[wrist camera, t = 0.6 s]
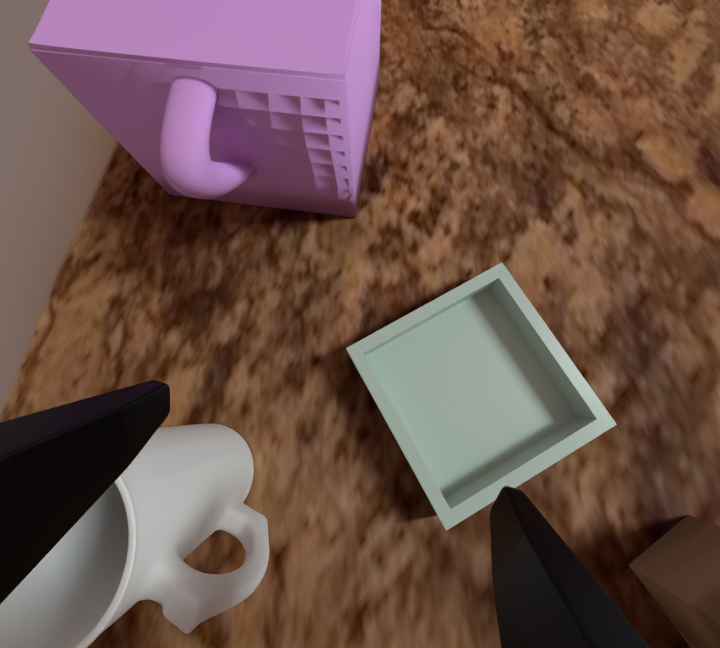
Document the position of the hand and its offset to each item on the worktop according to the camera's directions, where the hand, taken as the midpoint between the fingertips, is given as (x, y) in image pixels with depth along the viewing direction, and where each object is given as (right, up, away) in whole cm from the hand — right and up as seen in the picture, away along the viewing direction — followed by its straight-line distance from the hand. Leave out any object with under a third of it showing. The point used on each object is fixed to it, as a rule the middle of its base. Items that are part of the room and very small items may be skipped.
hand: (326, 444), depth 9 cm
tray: (+8, -1, +14) cm, 16 cm away
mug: (-8, -7, +13) cm, 17 cm away
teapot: (-6, +20, +20) cm, 29 cm away
